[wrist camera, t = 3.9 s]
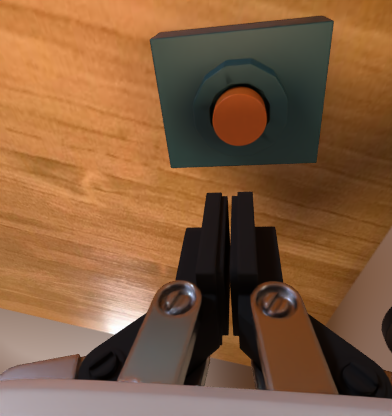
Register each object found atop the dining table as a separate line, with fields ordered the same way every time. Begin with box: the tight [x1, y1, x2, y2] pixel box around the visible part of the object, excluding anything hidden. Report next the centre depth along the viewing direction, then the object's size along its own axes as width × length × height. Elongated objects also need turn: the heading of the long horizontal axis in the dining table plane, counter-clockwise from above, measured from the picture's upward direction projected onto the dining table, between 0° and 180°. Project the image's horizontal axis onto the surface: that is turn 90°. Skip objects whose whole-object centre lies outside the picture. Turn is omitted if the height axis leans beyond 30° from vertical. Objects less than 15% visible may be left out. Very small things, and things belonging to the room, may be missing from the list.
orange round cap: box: [213, 87, 267, 146], centre depth 22 cm, size 4×4×2 cm
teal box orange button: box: [150, 16, 334, 168], centre depth 25 cm, size 12×10×5 cm
